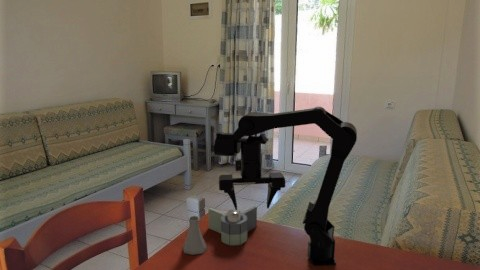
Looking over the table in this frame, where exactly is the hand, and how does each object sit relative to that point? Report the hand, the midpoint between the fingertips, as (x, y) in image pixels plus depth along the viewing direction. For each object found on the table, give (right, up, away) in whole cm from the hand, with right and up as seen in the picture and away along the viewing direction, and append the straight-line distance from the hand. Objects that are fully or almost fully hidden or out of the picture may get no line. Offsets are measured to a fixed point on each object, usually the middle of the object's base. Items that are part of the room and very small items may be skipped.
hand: (252, 208), depth 103 cm
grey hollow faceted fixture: (-3, -10, +10) cm, 15 cm away
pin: (-5, -11, +8) cm, 14 cm away
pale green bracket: (-8, -10, +10) cm, 16 cm away
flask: (-17, -13, +2) cm, 21 cm away
